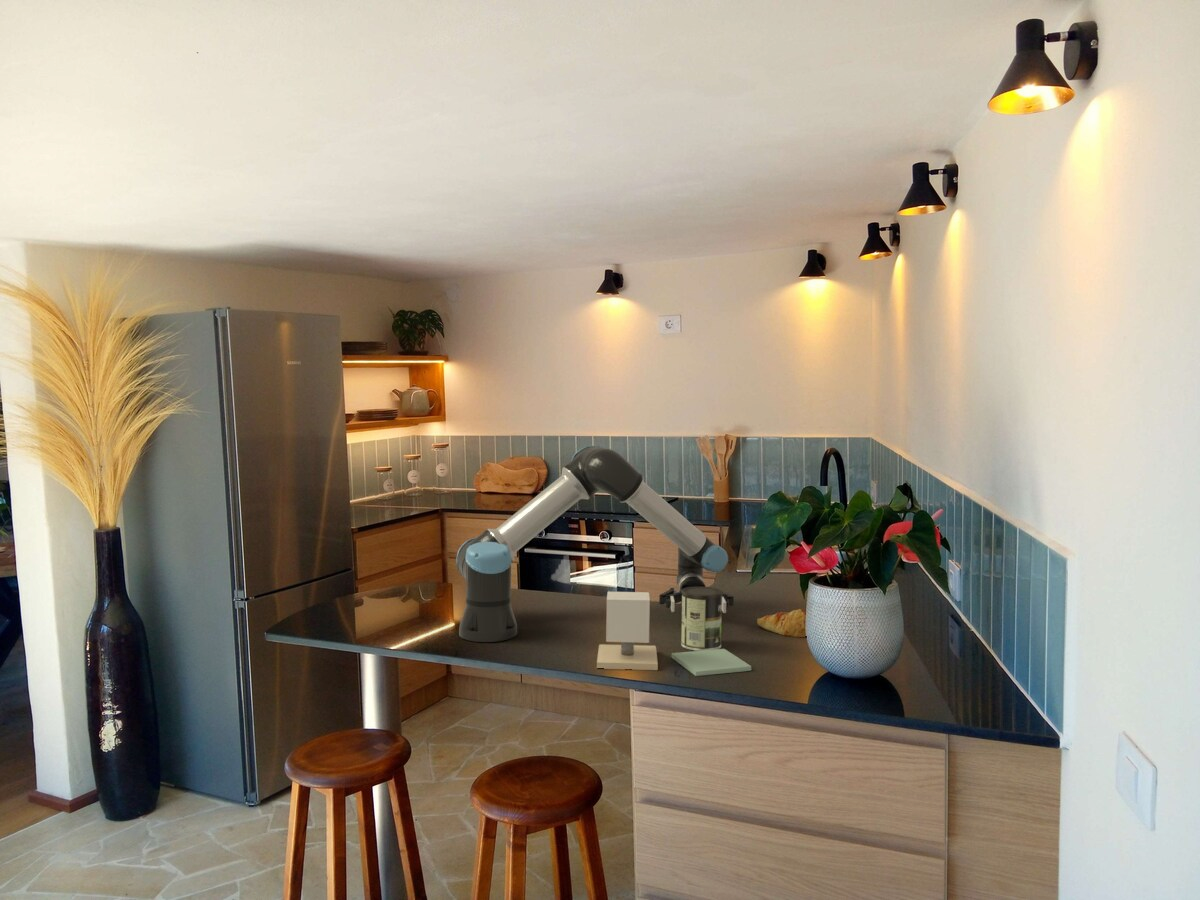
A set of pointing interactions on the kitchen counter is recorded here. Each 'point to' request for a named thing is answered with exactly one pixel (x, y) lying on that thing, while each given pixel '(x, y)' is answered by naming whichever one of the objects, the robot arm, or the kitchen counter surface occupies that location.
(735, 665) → the sage mat
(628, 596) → the mounted unit
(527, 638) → the kitchen counter surface
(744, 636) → the kitchen counter surface
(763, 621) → the croissant
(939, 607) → the kitchen counter surface
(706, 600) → the coffee can
